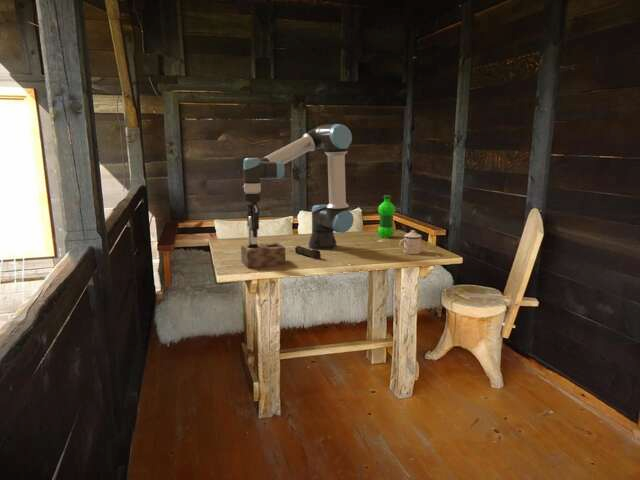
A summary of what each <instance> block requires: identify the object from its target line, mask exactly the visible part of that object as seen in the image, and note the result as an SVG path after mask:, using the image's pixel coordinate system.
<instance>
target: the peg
mask: <svg viewBox="0 0 640 480" xmlns="http://www.w3.org/2000/svg"><path fill="white" fill-rule="evenodd" d="M248 223H249V227H248V245H249V248H258V244H259V243H258V244H252V239H251V230H250V229H252V222H251V216H248Z"/></svg>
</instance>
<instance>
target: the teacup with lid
mask: <svg viewBox="0 0 640 480" xmlns="http://www.w3.org/2000/svg"><path fill="white" fill-rule="evenodd" d="M422 238H423V237H422V235H421V234H419V233H418V232H416V230H414V229H413V230H410V231H409V232H408V233H405V234H404V235H403V238H402V239H400V241H399V248H401V249H403V253H404V254H407V255H419V254H421V248H422ZM402 242H403V246H402Z"/></svg>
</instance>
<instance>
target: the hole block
mask: <svg viewBox="0 0 640 480" xmlns="http://www.w3.org/2000/svg"><path fill="white" fill-rule="evenodd" d="M240 255H241V256H240V259H241V261H240V262H241V263H242V264H243V265H244V266H245V267H246V268H247V269H251V268H253V269H254V268H260V267H261V268H263V267H264V268H265V267H274V266H285V265H286V247H284V246H283V245H281V244H280V243H279V242H270V243H267V242H266V243H258V248H249V244H244V245H243V244H242V245H240Z"/></svg>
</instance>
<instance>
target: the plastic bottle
mask: <svg viewBox="0 0 640 480" xmlns="http://www.w3.org/2000/svg"><path fill="white" fill-rule="evenodd" d="M383 199H384V201H383V202H381V203H380V204H379V206H378V208H377V211H378V212H377V213H378V214H379V226H378V228H377V233H378V235H379V236H380V237H381V238H383V237H390V238H391V237H392V236H394V234H395V229H394V226H393V225H394V215H395V213H396V207H395V205H394V204H393V203H392V202H391V199H392V196H391V195H388V194H387V195H386V194H385V195H383Z"/></svg>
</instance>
